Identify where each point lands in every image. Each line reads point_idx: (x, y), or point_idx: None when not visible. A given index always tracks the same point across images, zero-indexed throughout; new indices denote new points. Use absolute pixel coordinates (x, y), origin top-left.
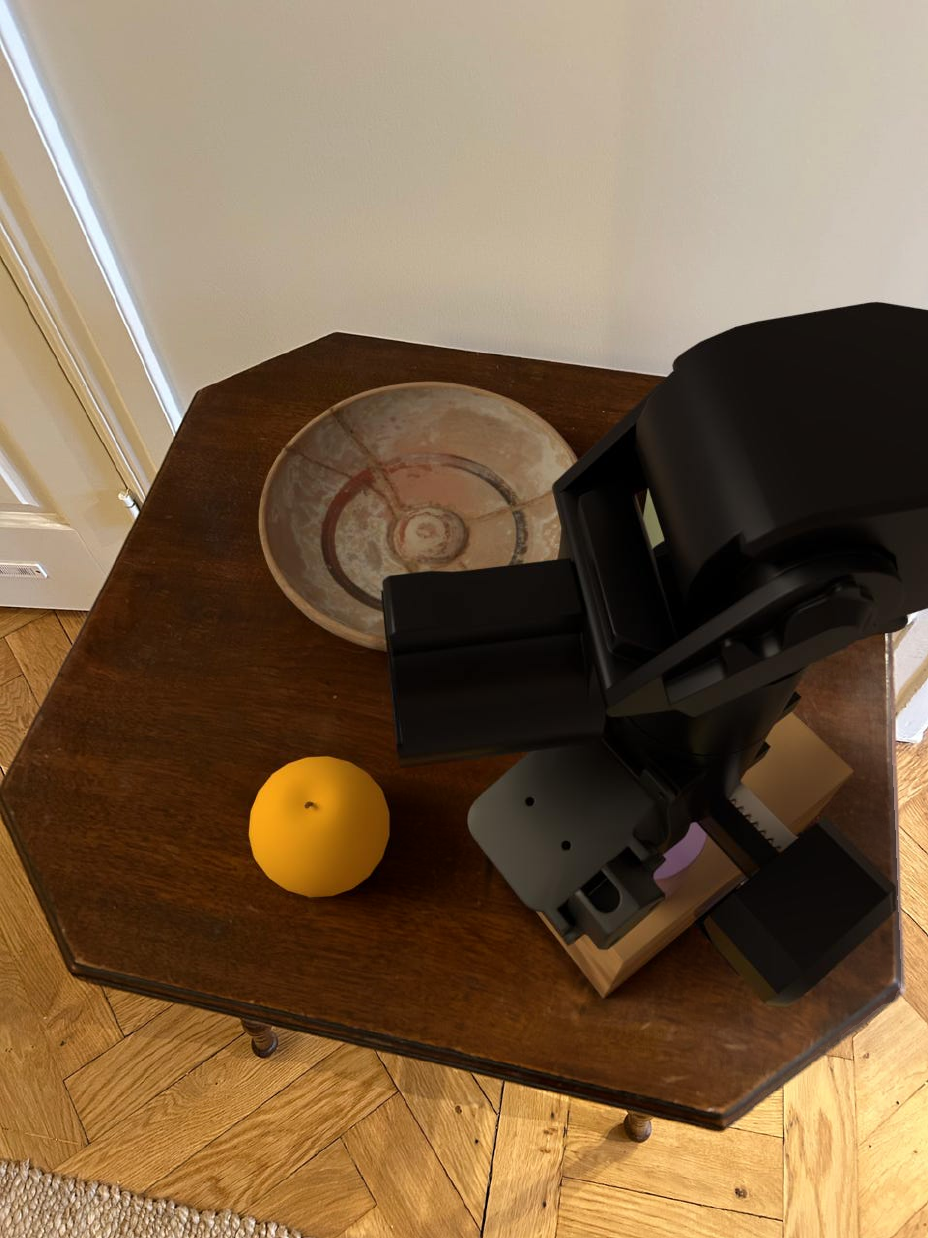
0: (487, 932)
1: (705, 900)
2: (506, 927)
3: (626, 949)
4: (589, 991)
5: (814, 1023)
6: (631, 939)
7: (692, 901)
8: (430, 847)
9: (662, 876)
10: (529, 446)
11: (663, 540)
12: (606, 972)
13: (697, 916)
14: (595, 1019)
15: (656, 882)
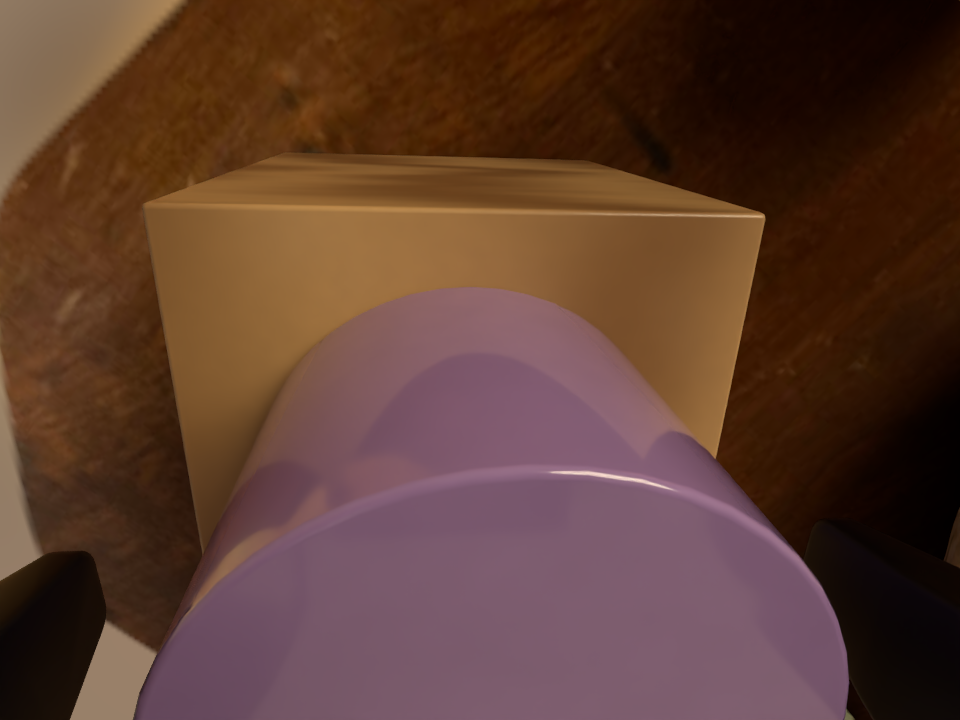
0: (546, 35)
1: (10, 695)
2: (527, 80)
3: (182, 248)
4: (312, 139)
5: (37, 443)
6: (203, 287)
7: (206, 518)
8: (771, 57)
9: (155, 691)
10: None
11: None
12: (260, 171)
13: (18, 590)
14: (257, 108)
15: (174, 617)
